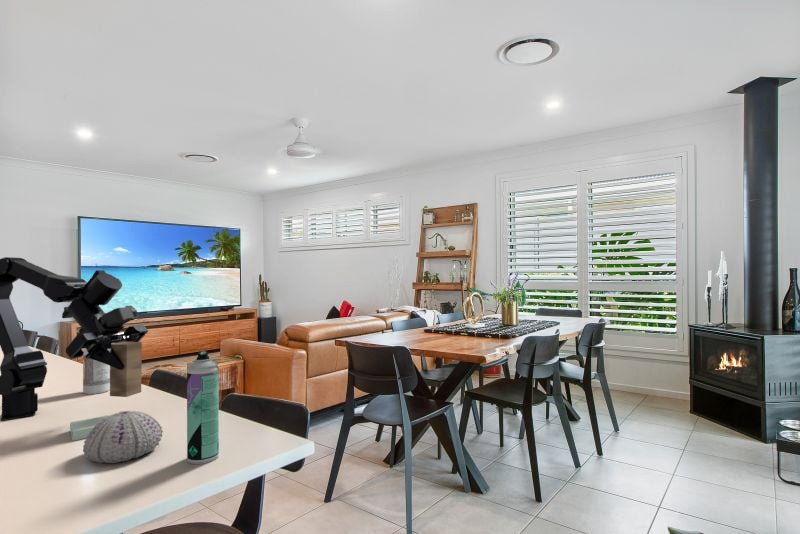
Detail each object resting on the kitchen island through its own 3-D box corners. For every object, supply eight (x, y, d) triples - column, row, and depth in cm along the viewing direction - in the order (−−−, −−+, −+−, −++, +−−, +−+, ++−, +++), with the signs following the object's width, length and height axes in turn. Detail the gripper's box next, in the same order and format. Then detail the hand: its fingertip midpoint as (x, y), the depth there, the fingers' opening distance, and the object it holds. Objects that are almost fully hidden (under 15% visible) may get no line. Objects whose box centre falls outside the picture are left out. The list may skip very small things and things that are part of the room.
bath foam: (84, 390, 137) (85, 325, 138) (111, 387, 140) (111, 323, 141) (81, 395, 131) (81, 327, 131) (109, 392, 134) (109, 325, 135)
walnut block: (109, 396, 105) (110, 344, 105) (125, 391, 109) (125, 341, 109) (126, 397, 104) (126, 345, 104) (141, 392, 108) (141, 342, 108)
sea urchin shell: (177, 444, 92) (177, 405, 93) (120, 472, 79) (120, 426, 80) (126, 438, 96) (126, 401, 96) (63, 464, 83) (63, 420, 83)
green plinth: (73, 440, 95) (73, 431, 95) (70, 430, 101) (70, 421, 101) (117, 431, 100) (117, 422, 100) (112, 423, 106) (112, 414, 106)
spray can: (209, 450, 89) (209, 348, 89) (224, 457, 85) (223, 351, 86) (181, 459, 84) (181, 352, 85) (195, 466, 81) (195, 355, 81)
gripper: (76, 297, 98) (119, 349, 96) (142, 293, 117) (179, 337, 114) (47, 332, 100) (88, 384, 97) (115, 323, 118) (152, 367, 116)
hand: (130, 366), depth 106 cm, fingers closed on walnut block, 4 cm apart
